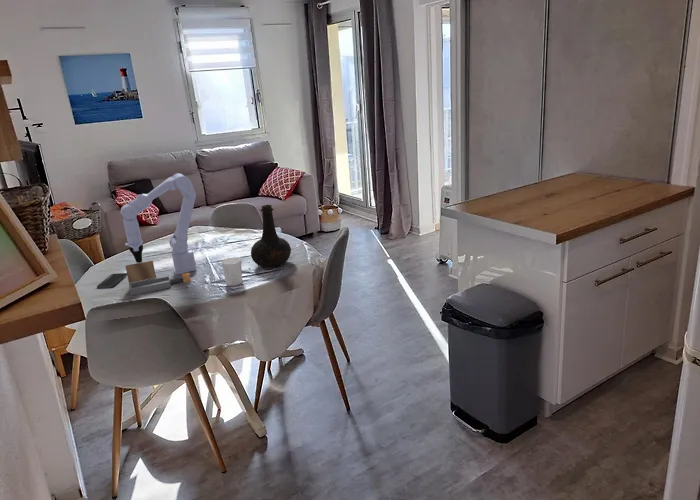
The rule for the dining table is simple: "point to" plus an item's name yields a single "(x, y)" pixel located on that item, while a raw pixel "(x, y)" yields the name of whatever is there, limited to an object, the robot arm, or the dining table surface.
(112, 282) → the phone
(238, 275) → the white cup
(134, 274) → the lid
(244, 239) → the dining table surface
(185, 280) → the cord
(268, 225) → the glass bottle
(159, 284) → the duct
